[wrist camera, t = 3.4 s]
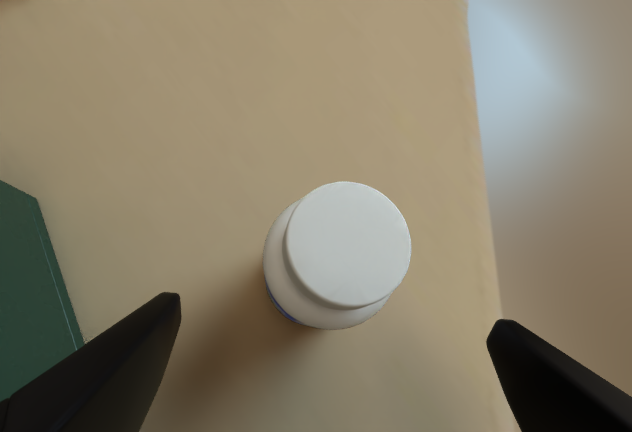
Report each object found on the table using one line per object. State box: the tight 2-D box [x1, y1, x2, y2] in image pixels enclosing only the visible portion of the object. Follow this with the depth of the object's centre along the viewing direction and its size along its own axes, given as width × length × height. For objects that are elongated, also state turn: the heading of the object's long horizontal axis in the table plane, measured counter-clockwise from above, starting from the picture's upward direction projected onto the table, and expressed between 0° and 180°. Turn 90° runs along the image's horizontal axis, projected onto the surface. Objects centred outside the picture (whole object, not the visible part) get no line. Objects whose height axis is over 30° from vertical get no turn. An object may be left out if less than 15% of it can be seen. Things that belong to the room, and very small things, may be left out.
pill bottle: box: [263, 182, 411, 330], centre depth 14 cm, size 5×5×10 cm
